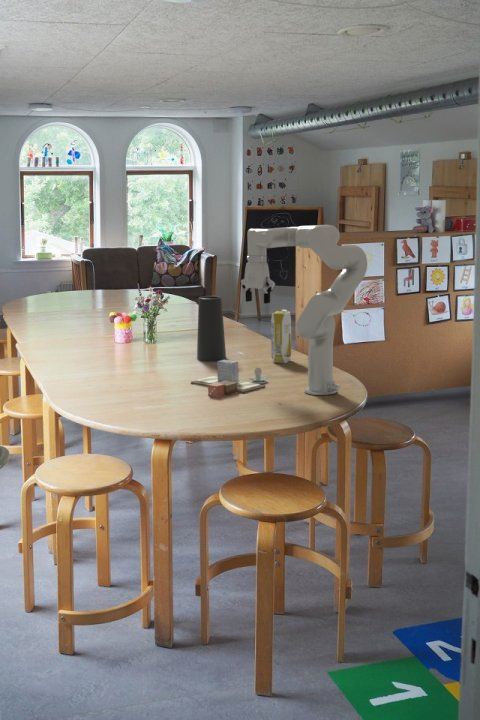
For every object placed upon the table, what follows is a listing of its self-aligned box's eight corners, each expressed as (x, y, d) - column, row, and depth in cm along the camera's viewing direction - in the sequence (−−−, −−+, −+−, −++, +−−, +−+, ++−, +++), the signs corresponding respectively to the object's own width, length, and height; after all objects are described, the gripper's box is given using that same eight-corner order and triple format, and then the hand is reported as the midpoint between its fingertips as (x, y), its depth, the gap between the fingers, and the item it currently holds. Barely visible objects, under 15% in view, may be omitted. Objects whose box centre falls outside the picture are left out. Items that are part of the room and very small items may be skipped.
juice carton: (287, 364, 400) (286, 311, 395) (270, 363, 402) (269, 310, 398) (292, 360, 409) (292, 308, 404) (276, 359, 411) (275, 308, 406)
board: (265, 387, 355) (265, 384, 354) (243, 393, 345) (243, 390, 345) (212, 378, 374) (212, 375, 374) (191, 383, 364) (191, 380, 364)
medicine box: (239, 382, 359) (238, 361, 357) (231, 384, 355) (231, 363, 354) (224, 380, 364) (224, 359, 362) (217, 382, 360) (216, 361, 359)
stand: (237, 392, 347) (236, 382, 346) (226, 395, 343) (226, 385, 342) (225, 390, 351) (225, 380, 350) (215, 393, 346) (215, 383, 346)
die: (224, 384, 342) (216, 386, 339) (224, 395, 343) (216, 397, 340) (216, 382, 345) (207, 384, 342) (216, 393, 346) (208, 396, 343)
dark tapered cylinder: (231, 358, 414) (230, 297, 408) (207, 362, 406) (205, 300, 401) (215, 354, 425) (214, 294, 419) (191, 358, 418) (189, 297, 412)
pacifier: (269, 384, 362) (264, 380, 368) (269, 369, 361) (264, 366, 366) (252, 385, 360) (248, 382, 366) (252, 370, 359) (248, 367, 364)
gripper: (234, 259, 357) (235, 301, 360) (267, 261, 346) (268, 304, 349) (247, 258, 362) (247, 299, 366) (279, 260, 351) (280, 302, 354)
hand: (257, 302), depth 357 cm, fingers open, 9 cm apart
